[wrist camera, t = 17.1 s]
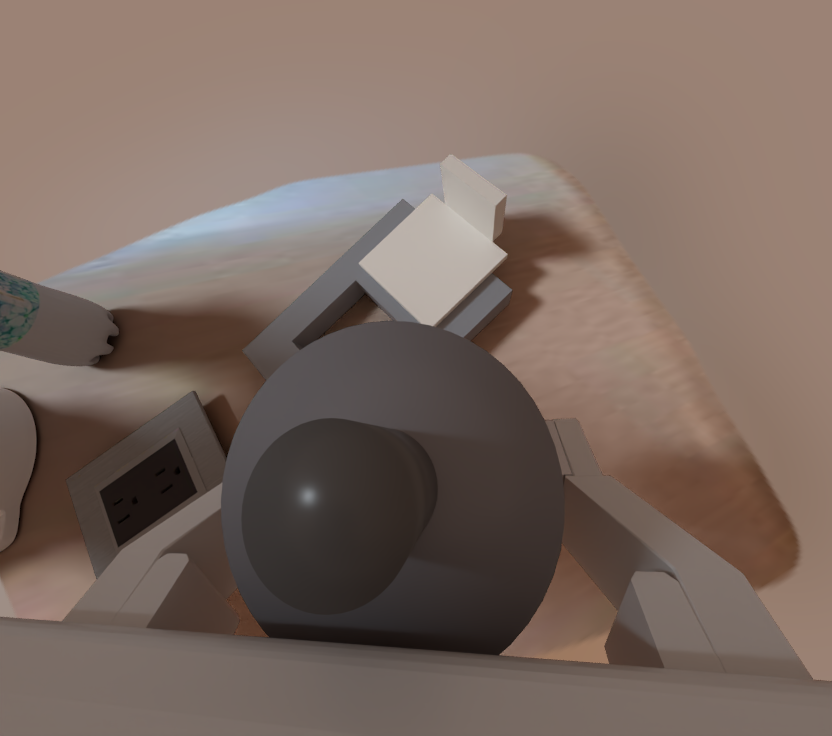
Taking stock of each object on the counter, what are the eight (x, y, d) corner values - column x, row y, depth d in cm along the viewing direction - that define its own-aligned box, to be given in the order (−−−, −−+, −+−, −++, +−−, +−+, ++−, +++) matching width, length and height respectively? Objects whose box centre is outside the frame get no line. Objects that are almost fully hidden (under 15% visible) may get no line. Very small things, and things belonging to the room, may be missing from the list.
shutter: (429, 332, 25) (420, 309, 21) (360, 266, 28) (338, 232, 23) (516, 249, 26) (524, 208, 21) (441, 190, 28) (435, 142, 23)
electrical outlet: (211, 394, 31) (189, 390, 29) (261, 499, 28) (242, 504, 26) (92, 477, 31) (61, 480, 29) (130, 591, 28) (99, 604, 26)
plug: (440, 550, 13) (279, 1056, 2) (362, 456, 15) (14, 489, 4) (528, 462, 14) (776, 541, 2) (443, 377, 15) (353, 175, 4)
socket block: (345, 462, 27) (333, 463, 25) (260, 358, 30) (241, 350, 28) (509, 303, 28) (512, 289, 25) (408, 217, 31) (402, 198, 28)
